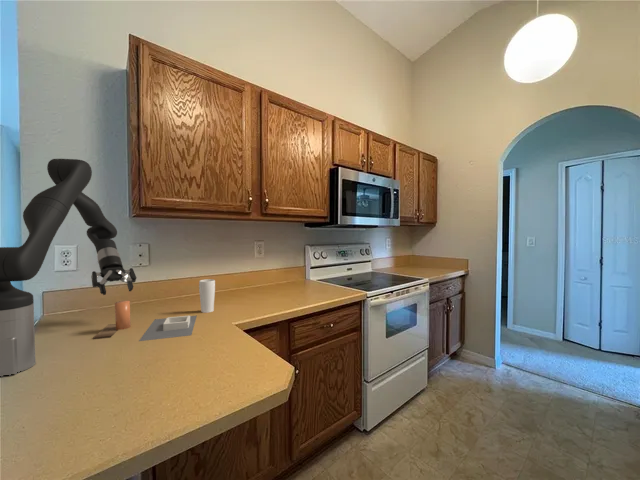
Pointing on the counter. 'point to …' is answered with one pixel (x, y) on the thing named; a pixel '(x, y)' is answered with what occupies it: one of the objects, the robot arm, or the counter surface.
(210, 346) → the counter surface
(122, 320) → the orange cylinder
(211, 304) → the drinking glass
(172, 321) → the board
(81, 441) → the counter surface
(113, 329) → the pad
